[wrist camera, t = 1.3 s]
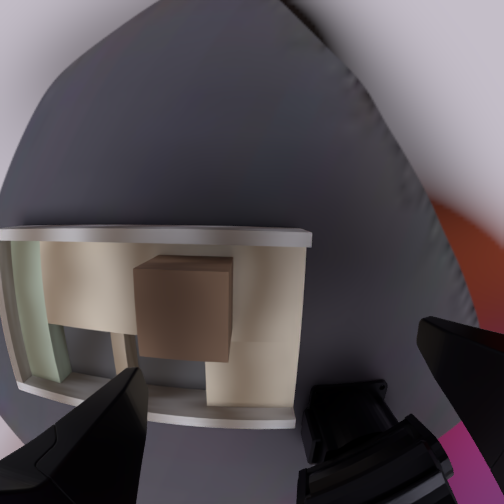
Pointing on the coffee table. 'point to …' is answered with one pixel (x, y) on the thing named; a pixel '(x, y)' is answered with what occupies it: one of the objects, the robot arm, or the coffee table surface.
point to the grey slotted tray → (124, 318)
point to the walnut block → (184, 307)
